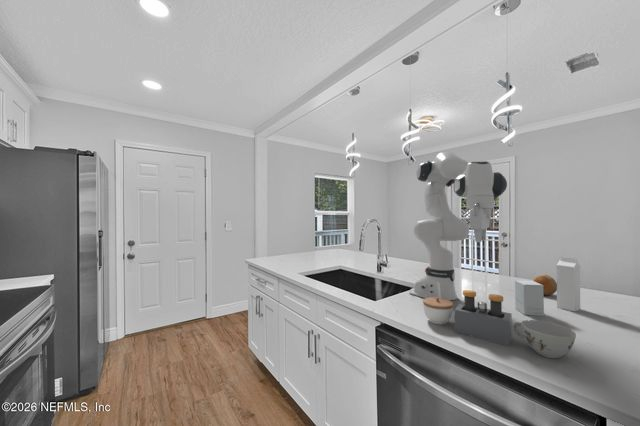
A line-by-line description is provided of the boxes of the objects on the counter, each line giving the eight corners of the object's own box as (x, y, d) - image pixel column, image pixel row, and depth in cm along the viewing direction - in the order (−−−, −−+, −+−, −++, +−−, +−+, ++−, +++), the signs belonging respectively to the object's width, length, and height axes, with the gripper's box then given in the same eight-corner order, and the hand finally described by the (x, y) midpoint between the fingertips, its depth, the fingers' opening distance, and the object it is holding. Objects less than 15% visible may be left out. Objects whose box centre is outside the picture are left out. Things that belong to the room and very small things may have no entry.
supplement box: (544, 316, 108) (544, 285, 108) (523, 315, 110) (523, 284, 110) (533, 309, 116) (533, 280, 116) (514, 308, 117) (514, 279, 117)
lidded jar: (447, 329, 97) (447, 304, 97) (419, 321, 105) (418, 298, 105) (456, 320, 105) (456, 297, 105) (429, 313, 113) (429, 291, 113)
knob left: (461, 317, 96) (461, 292, 96) (464, 314, 99) (464, 289, 99) (475, 320, 93) (474, 294, 93) (477, 316, 96) (477, 291, 96)
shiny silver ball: (477, 311, 93) (476, 303, 93) (478, 309, 95) (478, 301, 95) (486, 313, 92) (486, 305, 91) (487, 311, 94) (487, 302, 94)
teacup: (582, 356, 79) (582, 329, 78) (567, 370, 72) (566, 341, 72) (523, 336, 91) (522, 313, 91) (505, 346, 85) (504, 321, 85)
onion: (534, 290, 142) (534, 271, 142) (559, 294, 135) (558, 274, 135) (530, 294, 136) (530, 275, 136) (556, 299, 129) (556, 278, 129)
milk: (574, 311, 113) (574, 259, 112) (556, 307, 118) (556, 257, 118) (580, 309, 116) (580, 258, 115) (562, 304, 121) (562, 256, 121)
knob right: (487, 323, 91) (487, 296, 91) (489, 319, 94) (489, 293, 94) (502, 326, 88) (502, 298, 88) (504, 322, 91) (504, 295, 91)
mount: (454, 331, 96) (454, 309, 96) (460, 324, 102) (460, 303, 102) (509, 346, 85) (509, 321, 85) (511, 336, 91) (511, 313, 91)
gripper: (485, 202, 90) (486, 243, 89) (493, 204, 105) (494, 239, 105) (464, 203, 94) (465, 243, 93) (474, 205, 109) (475, 239, 109)
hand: (480, 241), depth 99 cm, fingers open, 8 cm apart
